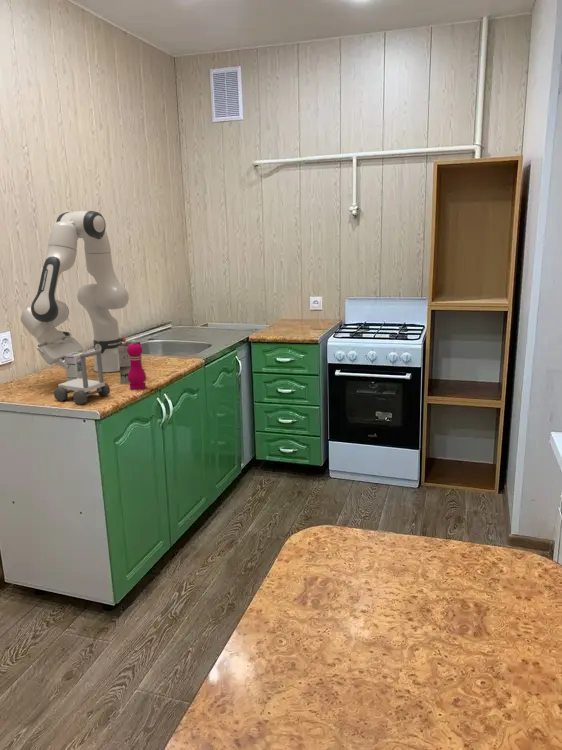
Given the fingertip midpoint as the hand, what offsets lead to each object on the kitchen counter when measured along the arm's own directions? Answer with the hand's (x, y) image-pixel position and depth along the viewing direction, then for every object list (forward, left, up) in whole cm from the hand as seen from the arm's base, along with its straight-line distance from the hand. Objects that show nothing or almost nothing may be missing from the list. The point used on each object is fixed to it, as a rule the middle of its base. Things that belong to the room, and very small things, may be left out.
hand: (75, 365), depth 237 cm
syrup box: (0, 0, -10) cm, 10 cm away
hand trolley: (+10, +13, -9) cm, 19 cm away
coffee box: (-18, +13, -10) cm, 24 cm away
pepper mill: (-10, +23, -10) cm, 27 cm away
